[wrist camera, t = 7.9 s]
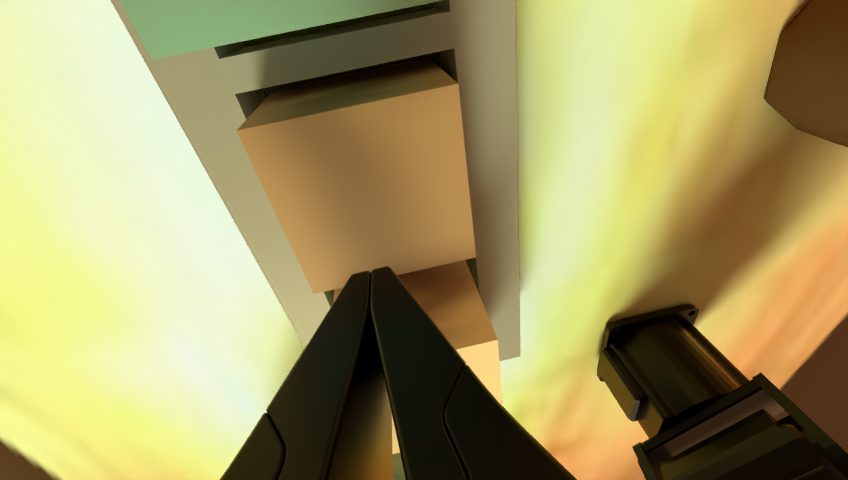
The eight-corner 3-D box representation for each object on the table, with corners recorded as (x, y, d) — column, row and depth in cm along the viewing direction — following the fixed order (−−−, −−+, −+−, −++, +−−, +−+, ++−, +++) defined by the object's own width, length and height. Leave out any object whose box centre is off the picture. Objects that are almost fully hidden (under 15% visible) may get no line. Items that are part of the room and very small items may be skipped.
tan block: (428, 57, 14) (458, 83, 10) (448, 195, 17) (475, 257, 13) (273, 89, 14) (236, 130, 9) (324, 222, 17) (313, 294, 13)
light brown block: (463, 254, 17) (497, 339, 12) (474, 338, 20) (503, 427, 16) (334, 283, 16) (327, 379, 12) (368, 363, 20) (370, 459, 16)
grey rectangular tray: (463, -434, 8) (506, -611, 6) (503, 318, 23) (520, 356, 21) (-12, -355, 8) (-173, -506, 6) (336, 357, 23) (334, 400, 21)
